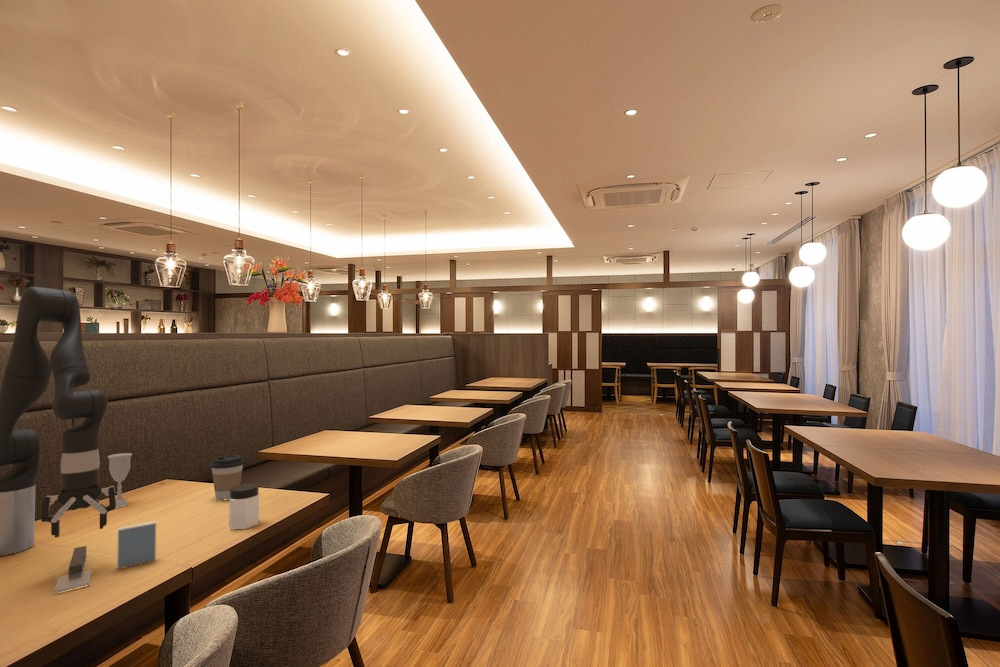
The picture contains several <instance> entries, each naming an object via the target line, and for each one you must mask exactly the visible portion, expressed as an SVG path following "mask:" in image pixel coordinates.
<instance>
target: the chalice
mask: <svg viewBox="0 0 1000 667" xmlns="http://www.w3.org/2000/svg"><path fill="white" fill-rule="evenodd" d="M132 456H133V453H130V452H129V453H128V452H126V453H125V452H124V453H115V454H109V455H107V458H108V460H109V461H108V462H109V464H108V471H109V473H110V475H111V477H112V479H113V481H114V482H117V486H116V488H117V492H116V491H115V494H117V497H116V498H115V500H116V508H115V509H119V507H121V508H124V506H125V507H126V506H128V505H129V504H128V502H127V499H125V498H123V497H122V493H123V491H122V488H123V485H122V481H123V482H124V481H125V479H126V477H127V476H128V474H129V472H130V469H131V458H132Z"/></svg>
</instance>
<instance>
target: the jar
mask: <svg viewBox="0 0 1000 667" xmlns="http://www.w3.org/2000/svg"><path fill="white" fill-rule="evenodd" d="M228 501H229V502H228V503H229V504H228V527H229V529H230V530H231V531H235V530H236V529H242V530H248V529H251V528H253V527H255V525H256V526H259V524H260V494H259V484H256V483H242V484H240V485H237V486H234V487H232V488H230V496H229V500H228ZM252 526H253V527H252ZM250 527H251V528H250ZM247 528H248V529H247ZM236 531H237V530H236Z"/></svg>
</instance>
